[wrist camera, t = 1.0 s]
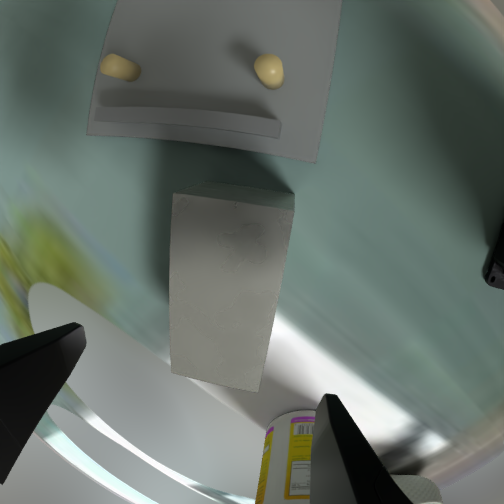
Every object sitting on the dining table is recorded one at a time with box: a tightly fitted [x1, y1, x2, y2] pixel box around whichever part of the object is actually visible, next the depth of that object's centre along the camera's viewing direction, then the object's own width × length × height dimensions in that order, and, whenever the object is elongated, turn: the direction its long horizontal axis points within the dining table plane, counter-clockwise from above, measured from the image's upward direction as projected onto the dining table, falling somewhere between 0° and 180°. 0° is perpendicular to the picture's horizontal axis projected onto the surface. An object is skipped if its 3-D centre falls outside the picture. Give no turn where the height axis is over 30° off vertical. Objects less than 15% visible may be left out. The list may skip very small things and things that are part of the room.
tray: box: [86, 0, 342, 164], centre depth 11 cm, size 14×16×4 cm
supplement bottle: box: [255, 410, 316, 504], centre depth 16 cm, size 7×7×13 cm
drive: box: [169, 181, 295, 393], centre depth 15 cm, size 5×10×5 cm, turn 173°
